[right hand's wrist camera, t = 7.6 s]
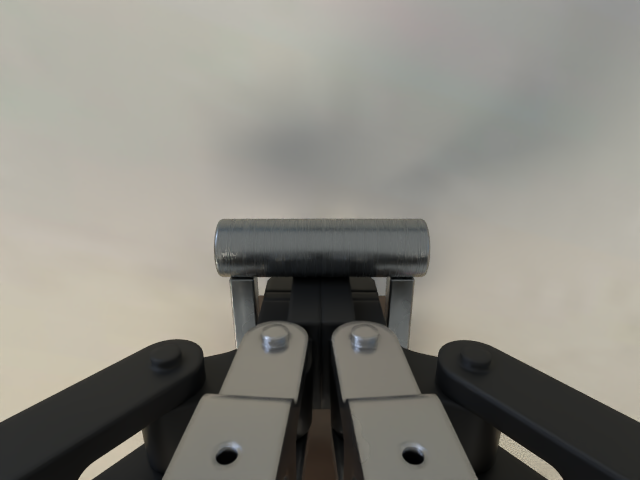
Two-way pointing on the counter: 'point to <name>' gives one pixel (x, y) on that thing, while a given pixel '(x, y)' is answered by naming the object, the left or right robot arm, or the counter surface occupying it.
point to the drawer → (322, 261)
